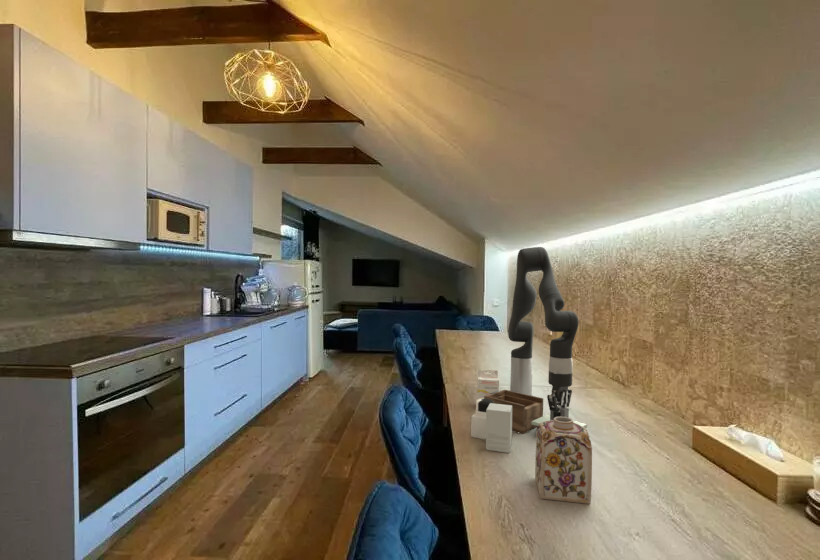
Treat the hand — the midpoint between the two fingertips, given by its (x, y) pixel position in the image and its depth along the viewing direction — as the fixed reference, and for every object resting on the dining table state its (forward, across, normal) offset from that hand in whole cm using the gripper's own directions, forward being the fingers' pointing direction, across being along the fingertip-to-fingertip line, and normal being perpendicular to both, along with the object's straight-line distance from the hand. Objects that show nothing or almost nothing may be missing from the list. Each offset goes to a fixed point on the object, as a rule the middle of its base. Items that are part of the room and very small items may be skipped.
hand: (559, 421), depth 146 cm
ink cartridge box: (+5, -10, -36) cm, 37 cm away
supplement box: (+5, +23, -8) cm, 25 cm away
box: (+5, 0, -18) cm, 18 cm away
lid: (+1, 0, 0) cm, 1 cm away
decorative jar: (+5, +35, +18) cm, 39 cm away
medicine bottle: (+5, +18, -18) cm, 26 cm away
